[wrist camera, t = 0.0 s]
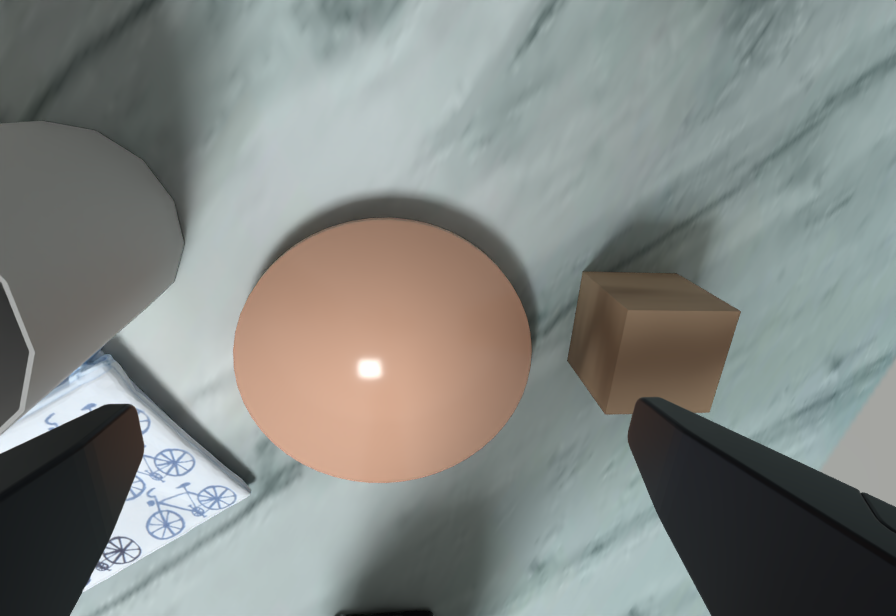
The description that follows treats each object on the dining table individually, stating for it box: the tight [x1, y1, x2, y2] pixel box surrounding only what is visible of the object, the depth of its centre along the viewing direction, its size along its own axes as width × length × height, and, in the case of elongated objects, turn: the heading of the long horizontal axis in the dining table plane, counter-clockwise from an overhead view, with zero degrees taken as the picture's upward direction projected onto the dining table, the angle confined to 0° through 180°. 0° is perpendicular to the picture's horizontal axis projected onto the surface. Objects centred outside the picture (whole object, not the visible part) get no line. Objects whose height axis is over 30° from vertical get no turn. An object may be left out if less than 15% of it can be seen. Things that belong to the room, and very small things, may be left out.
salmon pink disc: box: [233, 217, 532, 483], centre depth 24 cm, size 14×14×1 cm
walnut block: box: [567, 271, 741, 414], centre depth 23 cm, size 5×5×5 cm
